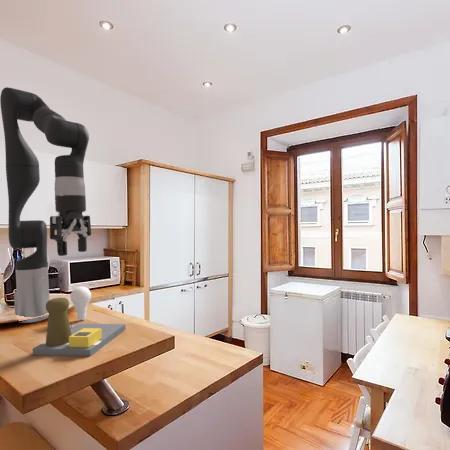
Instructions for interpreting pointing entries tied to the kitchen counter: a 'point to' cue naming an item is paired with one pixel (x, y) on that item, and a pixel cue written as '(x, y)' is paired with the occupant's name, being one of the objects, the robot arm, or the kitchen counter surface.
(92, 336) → the block
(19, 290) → the robot arm
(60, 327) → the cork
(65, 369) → the kitchen counter surface
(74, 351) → the board
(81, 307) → the lightbulb
